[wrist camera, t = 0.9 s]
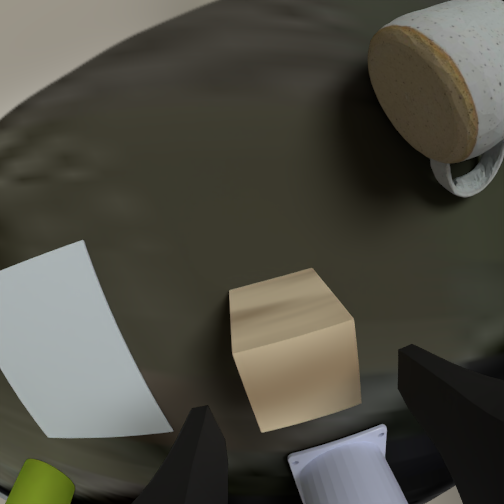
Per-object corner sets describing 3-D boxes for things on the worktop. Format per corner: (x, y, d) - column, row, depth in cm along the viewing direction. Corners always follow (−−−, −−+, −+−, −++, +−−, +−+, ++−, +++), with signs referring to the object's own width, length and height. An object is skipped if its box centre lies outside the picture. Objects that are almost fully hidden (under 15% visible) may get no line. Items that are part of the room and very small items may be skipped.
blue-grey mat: (173, 430, 19) (173, 431, 19) (48, 436, 19) (48, 437, 19) (83, 239, 15) (82, 240, 15) (-38, 286, 15) (-39, 287, 15)
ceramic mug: (336, 52, 14) (413, -7, 6) (431, 16, 13) (512, -22, 6) (424, 219, 17) (519, 258, 9) (499, 159, 16) (585, 173, 9)
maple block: (324, 337, 18) (361, 403, 12) (250, 358, 18) (261, 432, 12) (311, 267, 17) (354, 318, 11) (229, 290, 17) (232, 353, 11)
